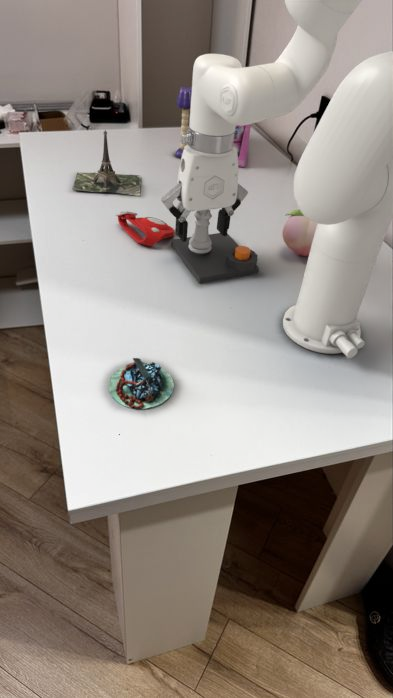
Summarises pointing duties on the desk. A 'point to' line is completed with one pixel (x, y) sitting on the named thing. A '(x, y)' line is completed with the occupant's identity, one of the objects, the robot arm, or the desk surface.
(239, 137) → the gum box
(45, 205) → the desk surface
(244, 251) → the button
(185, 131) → the toy lamp
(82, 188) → the eiffel tower figurine
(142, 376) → the dish
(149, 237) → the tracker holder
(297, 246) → the decorative fruit
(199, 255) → the scale
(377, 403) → the desk surface
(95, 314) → the desk surface
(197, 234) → the rook chess piece
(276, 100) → the robot arm
